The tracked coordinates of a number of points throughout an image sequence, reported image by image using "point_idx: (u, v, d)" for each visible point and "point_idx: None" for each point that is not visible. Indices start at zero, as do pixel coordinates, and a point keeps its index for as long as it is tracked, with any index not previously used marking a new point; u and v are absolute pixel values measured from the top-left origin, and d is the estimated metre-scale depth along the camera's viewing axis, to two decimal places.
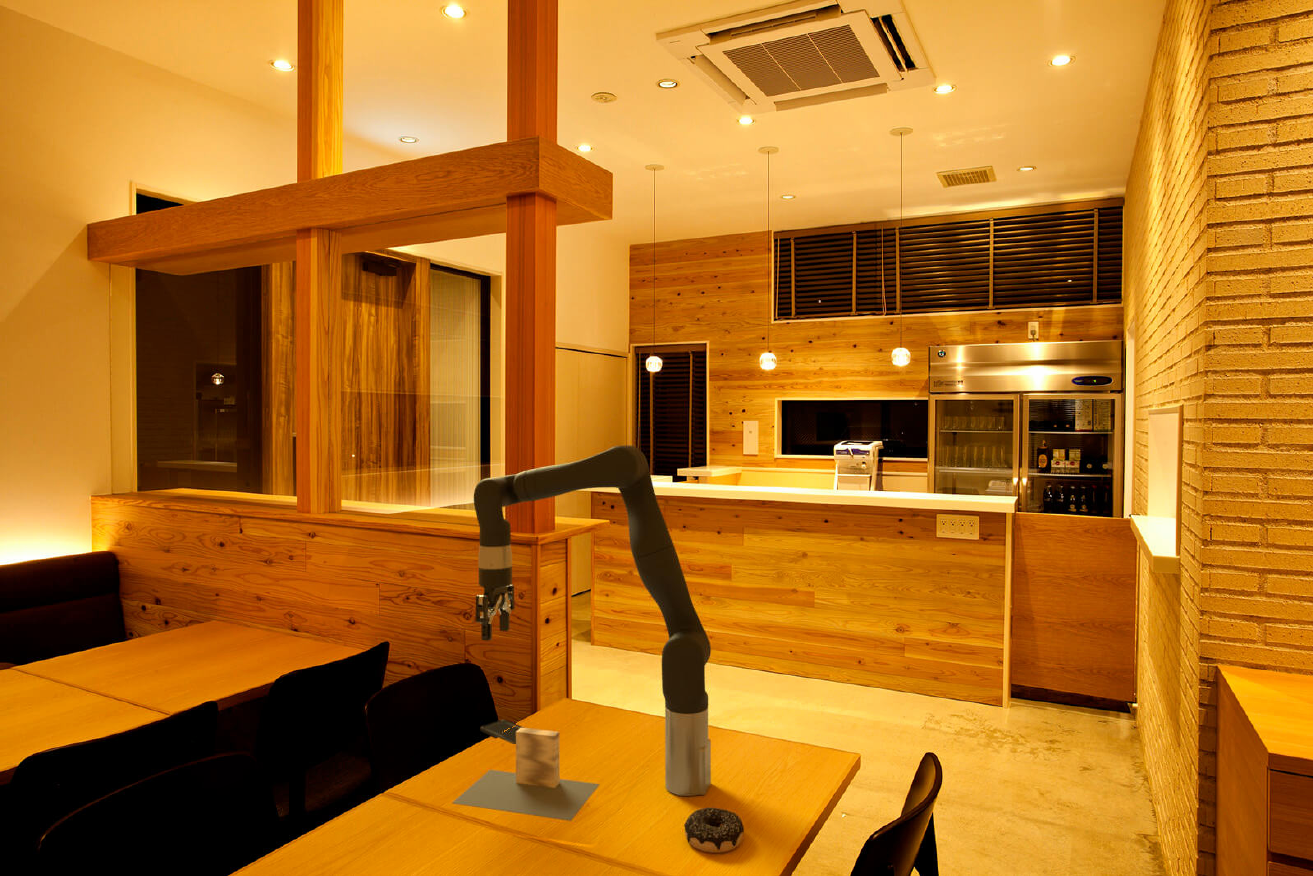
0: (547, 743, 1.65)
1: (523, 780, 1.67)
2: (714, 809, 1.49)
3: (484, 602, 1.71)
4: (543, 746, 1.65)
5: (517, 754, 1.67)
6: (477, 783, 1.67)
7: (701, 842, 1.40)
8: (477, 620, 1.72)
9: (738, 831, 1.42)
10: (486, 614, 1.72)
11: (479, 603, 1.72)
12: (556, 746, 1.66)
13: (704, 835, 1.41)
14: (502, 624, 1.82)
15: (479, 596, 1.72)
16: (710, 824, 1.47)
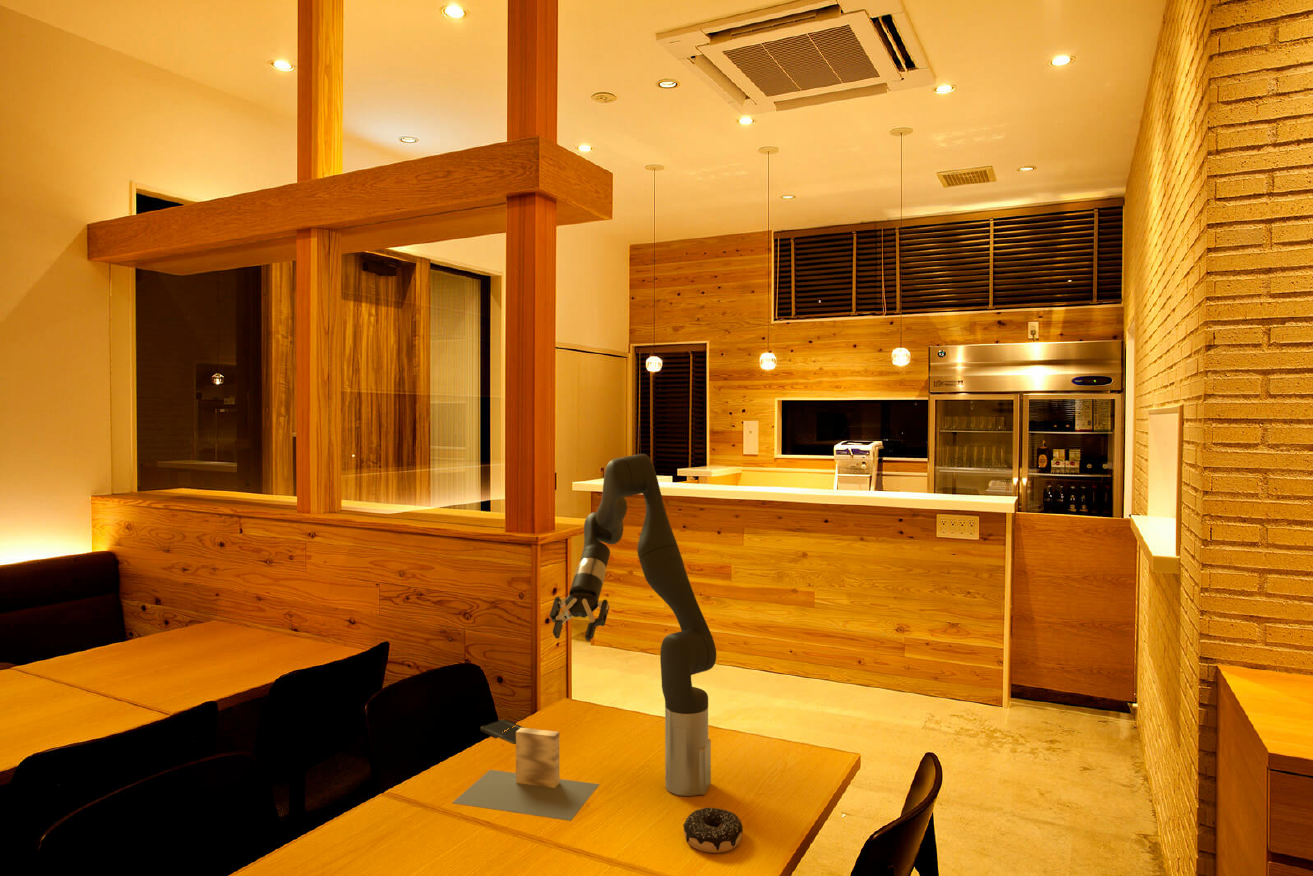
0: (547, 743, 1.65)
1: (523, 780, 1.67)
2: (713, 809, 1.49)
3: None
4: (543, 746, 1.65)
5: (517, 754, 1.67)
6: (477, 783, 1.67)
7: (700, 842, 1.40)
8: None
9: (737, 831, 1.42)
10: (553, 610, 1.91)
11: None
12: (556, 746, 1.66)
13: (703, 835, 1.41)
14: None
15: None
16: (709, 824, 1.47)
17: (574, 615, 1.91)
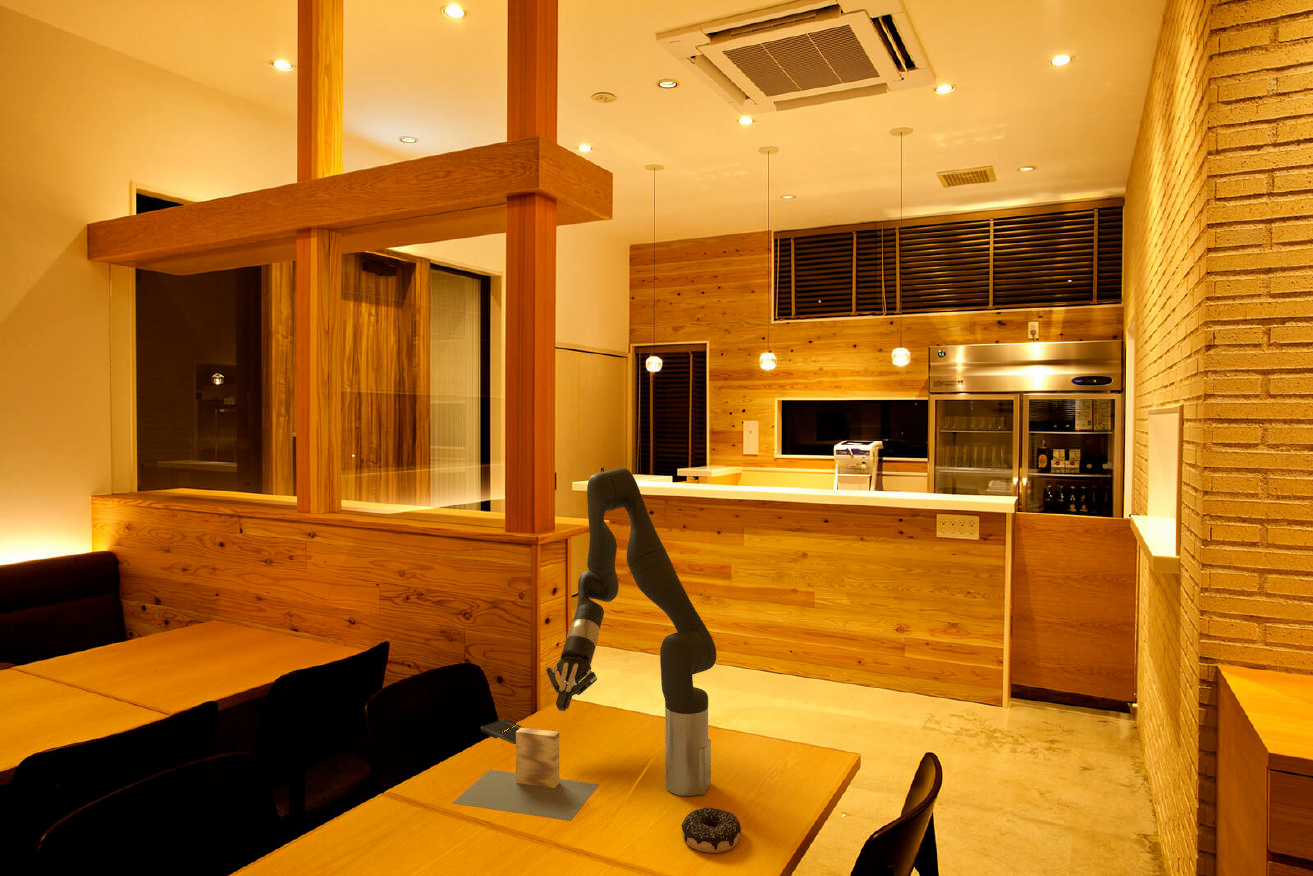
0: (547, 743, 1.65)
1: (523, 780, 1.67)
2: (711, 809, 1.49)
3: None
4: (543, 746, 1.65)
5: (517, 754, 1.67)
6: (477, 783, 1.67)
7: (698, 842, 1.40)
8: None
9: (735, 831, 1.42)
10: (553, 681, 1.83)
11: None
12: (556, 746, 1.66)
13: (701, 835, 1.41)
14: None
15: None
16: (707, 824, 1.47)
17: None
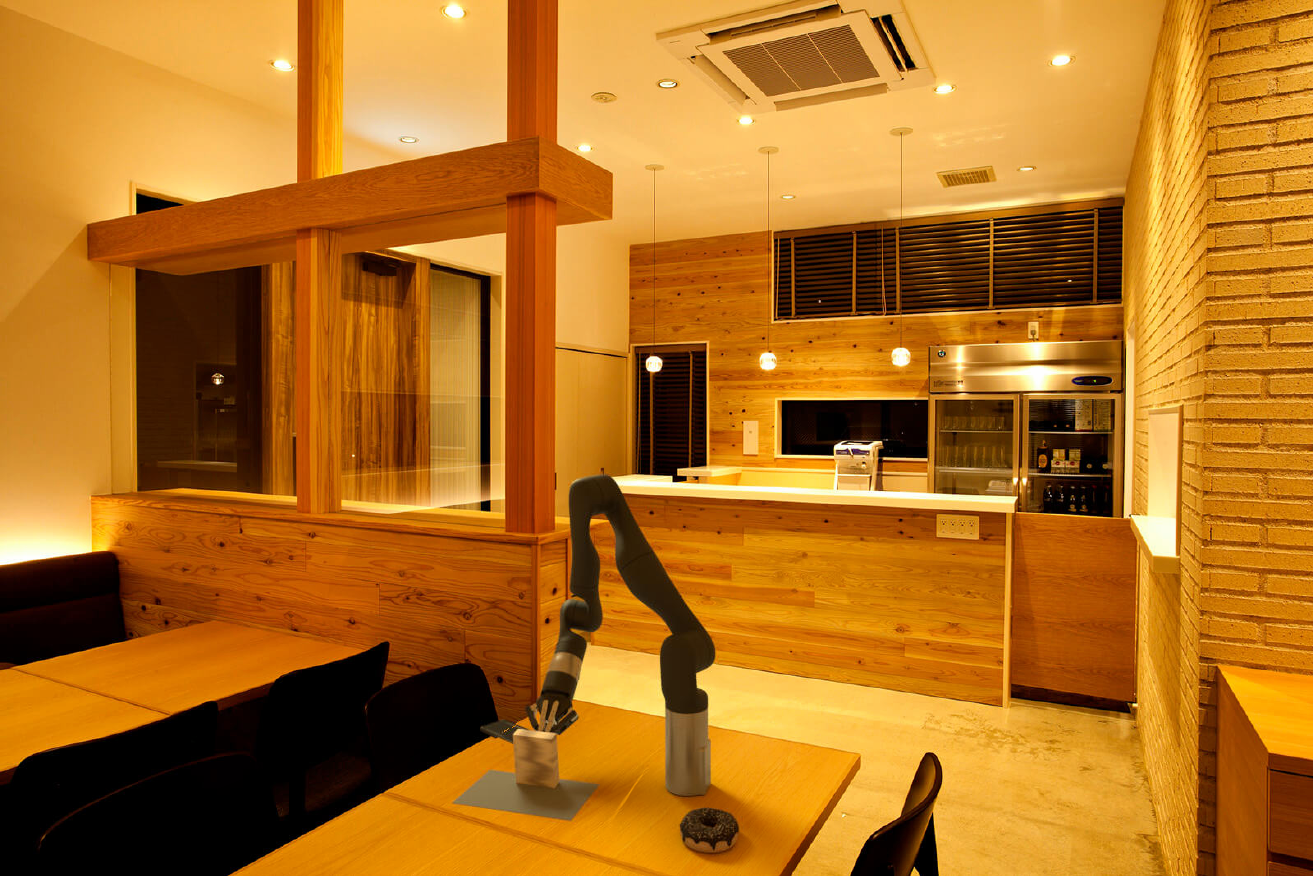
0: (545, 746, 1.64)
1: (523, 780, 1.67)
2: (709, 809, 1.49)
3: (526, 712, 1.74)
4: (541, 749, 1.64)
5: (515, 756, 1.66)
6: (477, 783, 1.67)
7: (696, 842, 1.40)
8: None
9: (733, 831, 1.42)
10: (532, 720, 1.73)
11: None
12: (554, 748, 1.65)
13: (699, 835, 1.41)
14: None
15: None
16: (705, 824, 1.47)
17: None
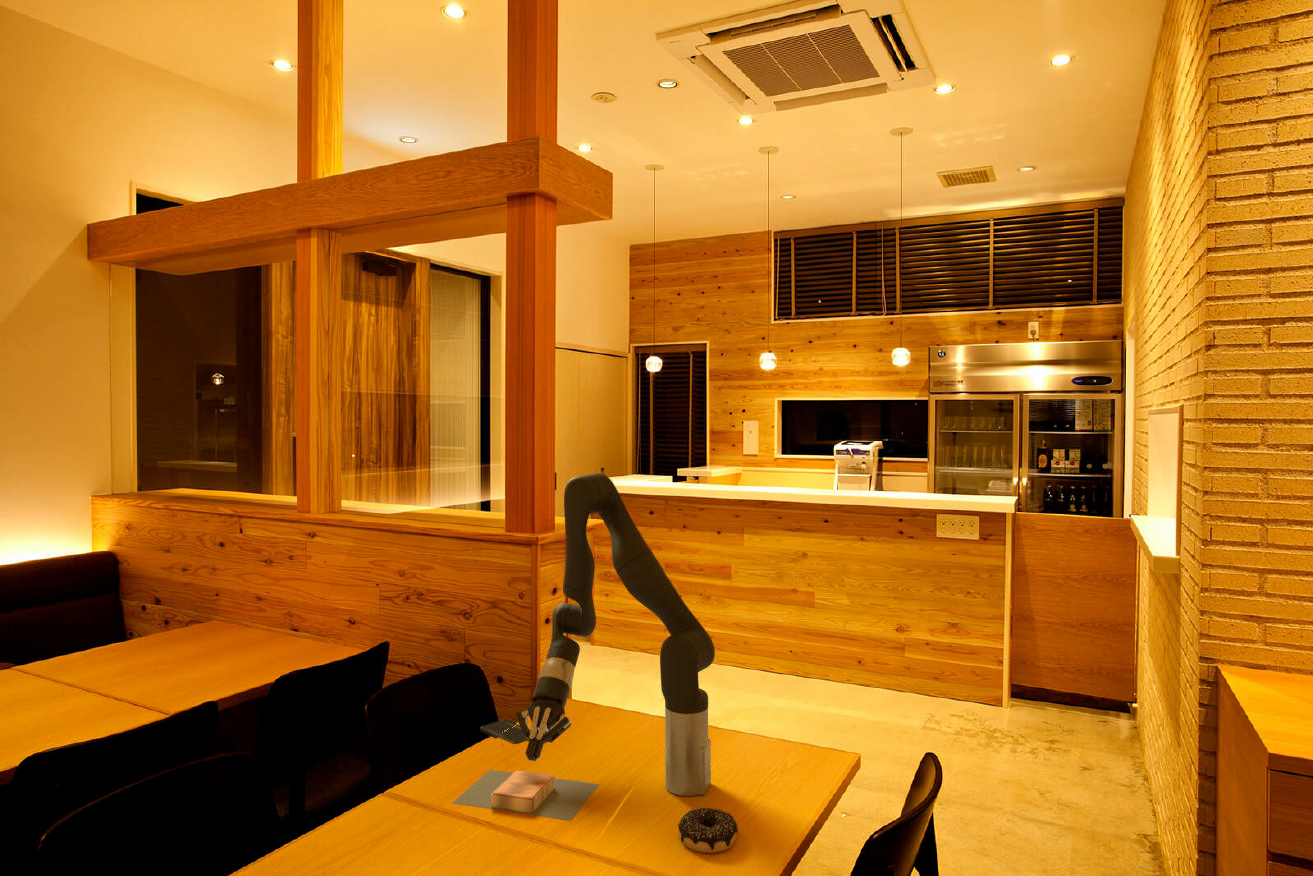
0: None
1: None
2: (708, 809, 1.49)
3: None
4: None
5: None
6: (477, 783, 1.67)
7: (695, 842, 1.40)
8: None
9: (732, 831, 1.42)
10: (523, 727, 1.68)
11: None
12: (537, 802, 1.56)
13: (698, 835, 1.41)
14: None
15: None
16: (704, 824, 1.47)
17: None
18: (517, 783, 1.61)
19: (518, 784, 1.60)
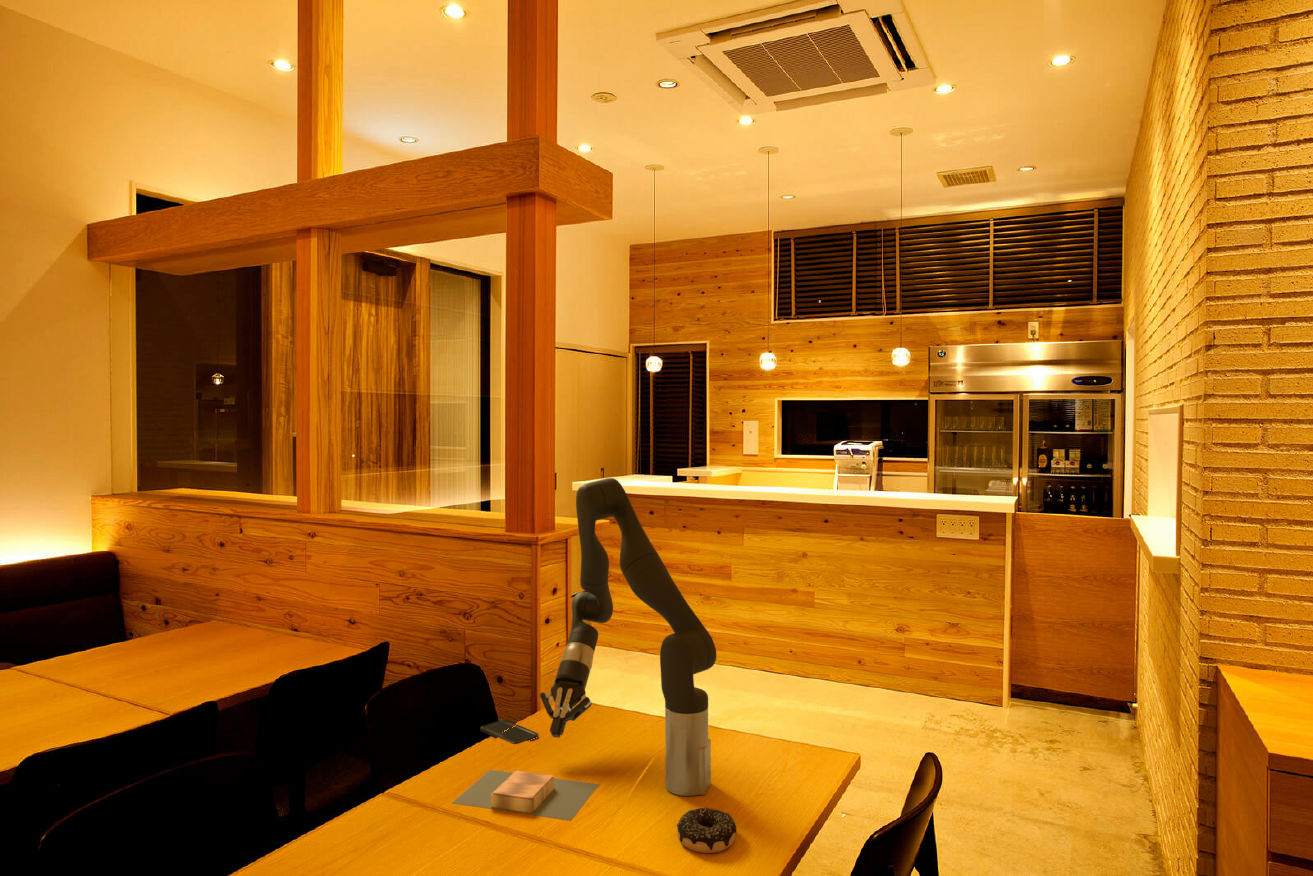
0: None
1: None
2: (707, 809, 1.49)
3: None
4: None
5: None
6: (477, 783, 1.67)
7: (693, 842, 1.40)
8: None
9: (731, 831, 1.42)
10: (547, 707, 1.81)
11: None
12: (537, 802, 1.56)
13: (696, 835, 1.41)
14: None
15: None
16: (703, 824, 1.47)
17: None
18: (517, 783, 1.61)
19: (518, 784, 1.60)
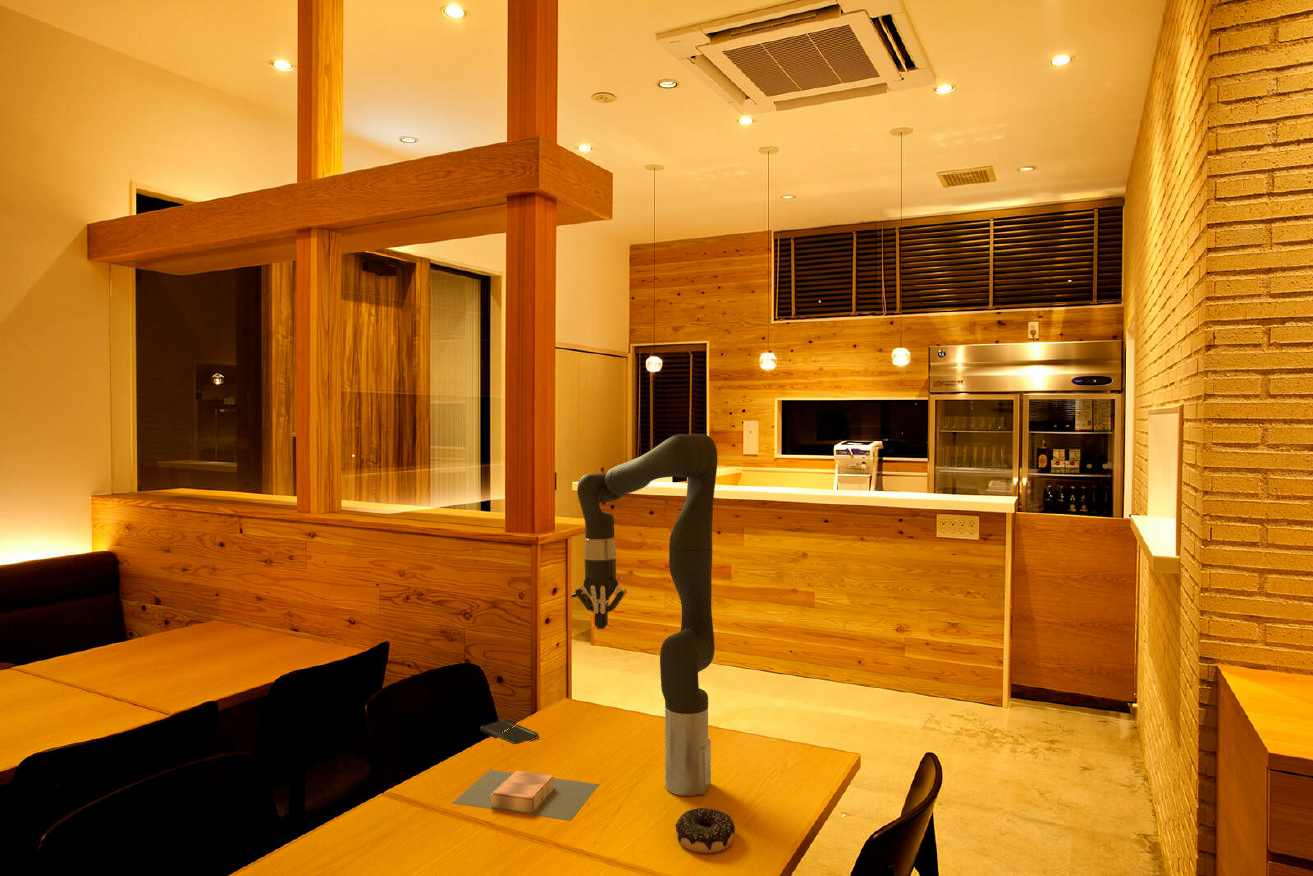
0: None
1: None
2: (705, 809, 1.49)
3: None
4: None
5: None
6: (477, 783, 1.67)
7: (692, 842, 1.40)
8: None
9: (729, 831, 1.42)
10: (585, 603, 1.87)
11: None
12: (537, 802, 1.56)
13: (695, 835, 1.41)
14: None
15: None
16: (701, 824, 1.47)
17: None
18: (517, 783, 1.61)
19: (518, 784, 1.60)
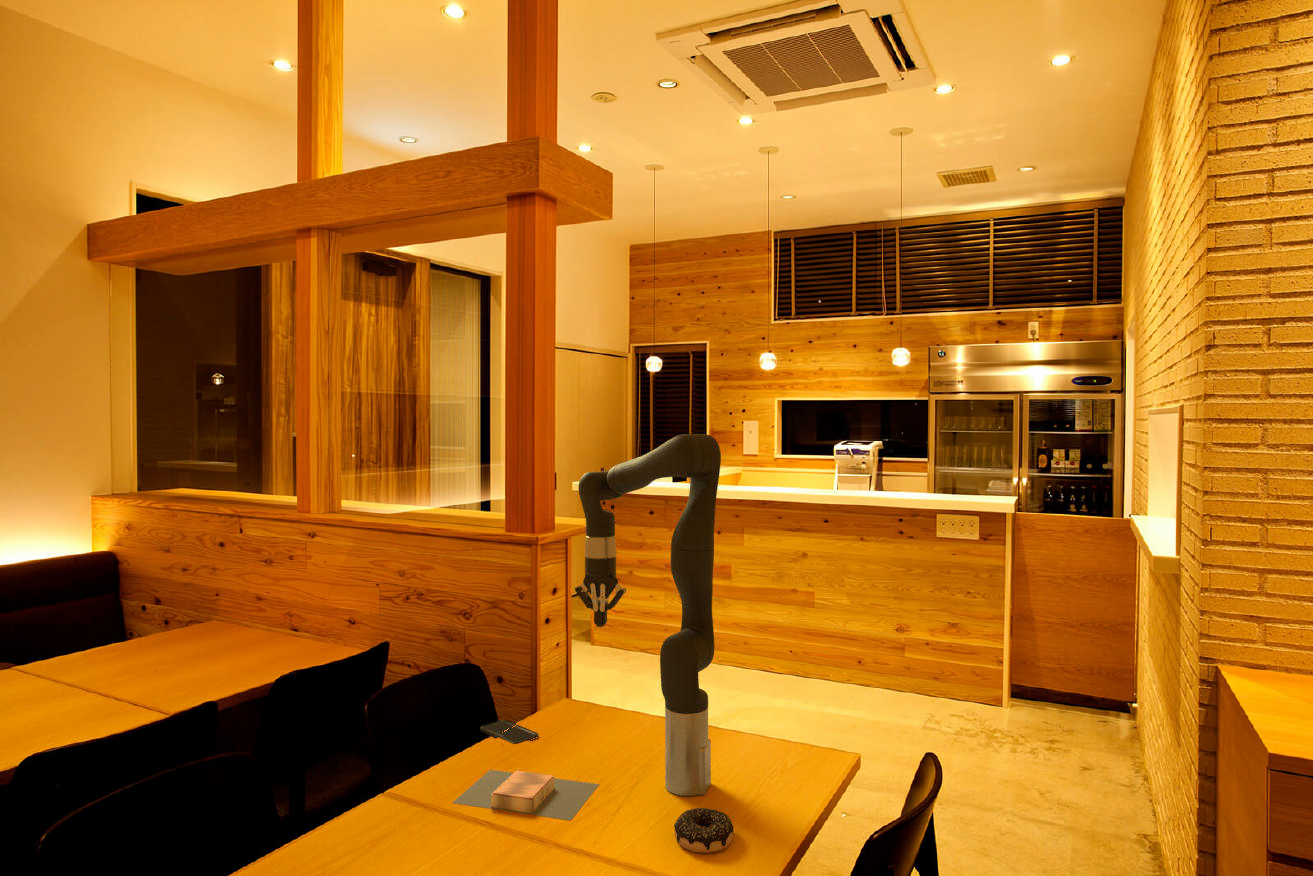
0: None
1: None
2: (704, 809, 1.49)
3: None
4: None
5: None
6: (477, 783, 1.67)
7: (690, 842, 1.40)
8: None
9: (728, 831, 1.42)
10: (585, 601, 1.87)
11: None
12: (537, 802, 1.56)
13: (693, 835, 1.41)
14: None
15: None
16: (700, 824, 1.47)
17: None
18: (517, 783, 1.61)
19: (518, 784, 1.60)
